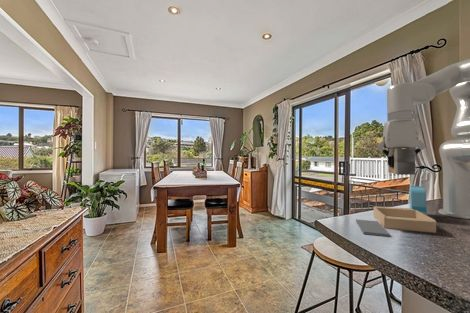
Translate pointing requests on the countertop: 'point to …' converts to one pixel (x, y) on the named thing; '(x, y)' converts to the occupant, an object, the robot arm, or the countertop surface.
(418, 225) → the carton
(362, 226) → the mat
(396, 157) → the walnut box
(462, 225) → the countertop surface
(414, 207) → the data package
